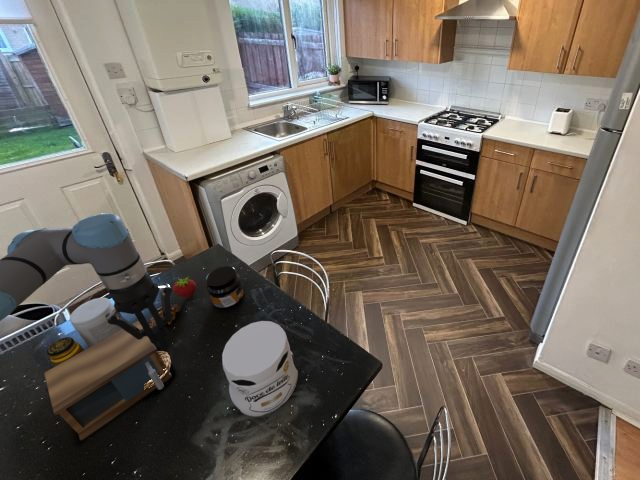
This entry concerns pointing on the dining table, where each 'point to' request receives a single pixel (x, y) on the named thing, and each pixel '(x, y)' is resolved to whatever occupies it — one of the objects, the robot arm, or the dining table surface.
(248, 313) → the dining table surface
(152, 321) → the pastry
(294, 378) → the doce de leite tub
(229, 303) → the supplement container
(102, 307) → the supplement tub
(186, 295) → the strawberry
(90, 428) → the cabinet
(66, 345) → the condiment
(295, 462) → the dining table surface
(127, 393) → the glass door
